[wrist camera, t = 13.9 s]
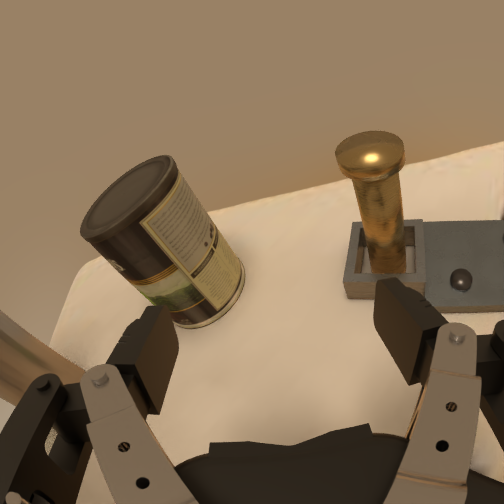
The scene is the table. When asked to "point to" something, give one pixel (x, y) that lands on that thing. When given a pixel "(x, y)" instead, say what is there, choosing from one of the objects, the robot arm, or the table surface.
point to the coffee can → (165, 243)
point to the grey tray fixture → (441, 265)
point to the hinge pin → (377, 194)
